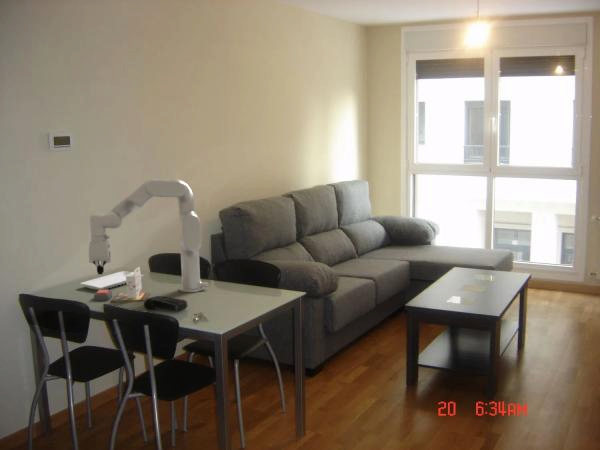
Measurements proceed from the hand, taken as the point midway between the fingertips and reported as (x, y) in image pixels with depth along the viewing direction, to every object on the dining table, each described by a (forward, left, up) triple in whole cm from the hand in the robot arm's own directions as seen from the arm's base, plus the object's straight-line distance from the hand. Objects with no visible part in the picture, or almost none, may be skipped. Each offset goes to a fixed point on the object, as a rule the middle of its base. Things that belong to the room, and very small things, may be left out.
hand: (100, 273), depth 336 cm
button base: (0, 0, -13) cm, 13 cm away
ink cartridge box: (-16, 0, -13) cm, 21 cm away
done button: (0, 0, -12) cm, 12 cm away
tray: (+2, -29, -14) cm, 32 cm away
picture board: (-14, 0, -13) cm, 20 cm away
